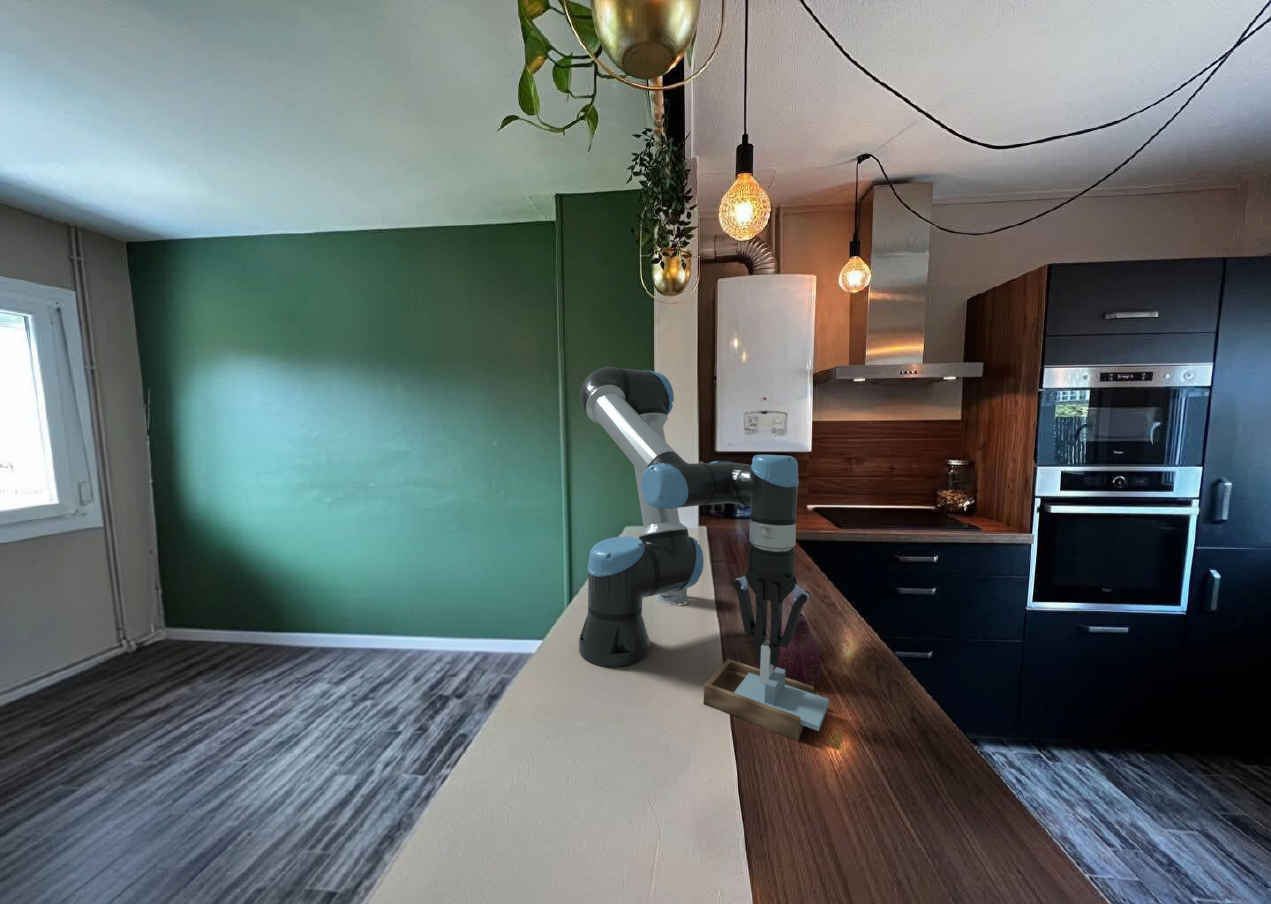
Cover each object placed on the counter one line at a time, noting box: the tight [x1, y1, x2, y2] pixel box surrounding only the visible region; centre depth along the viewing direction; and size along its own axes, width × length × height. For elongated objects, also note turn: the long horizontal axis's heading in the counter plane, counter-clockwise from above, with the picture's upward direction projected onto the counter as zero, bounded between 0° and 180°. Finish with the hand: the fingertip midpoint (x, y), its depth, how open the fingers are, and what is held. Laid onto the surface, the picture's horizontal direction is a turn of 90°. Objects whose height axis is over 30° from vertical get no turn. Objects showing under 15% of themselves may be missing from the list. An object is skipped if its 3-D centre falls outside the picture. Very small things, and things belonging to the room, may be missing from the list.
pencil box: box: [703, 658, 815, 742], centre depth 79 cm, size 16×11×3 cm
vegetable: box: [773, 612, 822, 687], centre depth 87 cm, size 10×10×15 cm
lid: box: [734, 667, 830, 732], centre depth 76 cm, size 14×8×4 cm, turn 57°
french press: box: [655, 588, 690, 605], centre depth 125 cm, size 10×12×25 cm
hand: (766, 680), depth 78 cm, fingers closed
